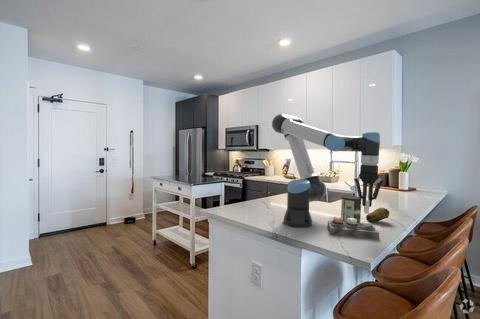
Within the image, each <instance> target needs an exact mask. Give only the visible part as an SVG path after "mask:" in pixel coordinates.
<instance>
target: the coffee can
mask: <svg viewBox="0 0 480 319" xmlns="http://www.w3.org/2000/svg"><path fill="white" fill-rule="evenodd" d="M340 211H341V212H340V213H341V214H340V217H341V218H343V219H342V221H343V222H347V218H355V219H357V223H361V219H362V218H361V215H362V214H361V213H362V198H360V197H359V196H356V195H346V194H345V195H341V210H340Z"/></svg>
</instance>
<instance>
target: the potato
mask: <svg viewBox="0 0 480 319" xmlns="http://www.w3.org/2000/svg"><path fill="white" fill-rule="evenodd" d="M389 216H390V210H388V208H386V207H378V208H377V209H375V210H373V211H371V212H369V214H366V216H365V220H366V222H369V223H373V222H375V223H376V222H380V221H382V220H385V219H388V218H389Z"/></svg>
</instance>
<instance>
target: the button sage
mask: <svg viewBox="0 0 480 319" xmlns="http://www.w3.org/2000/svg"><path fill="white" fill-rule="evenodd" d="M361 223H362V224H361V226H364V227H371V224H372V222H369V221H361Z"/></svg>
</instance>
